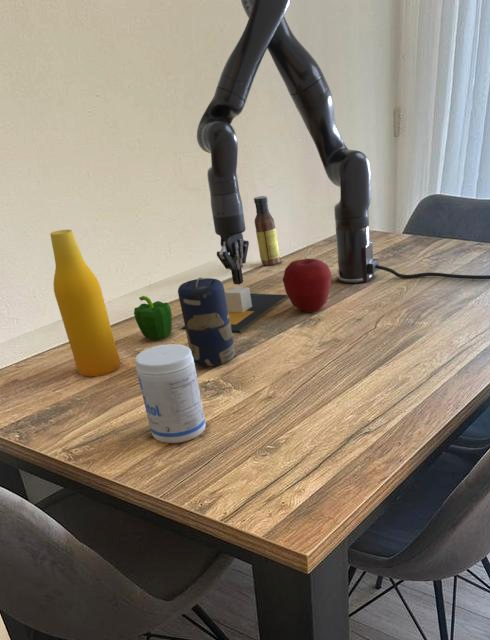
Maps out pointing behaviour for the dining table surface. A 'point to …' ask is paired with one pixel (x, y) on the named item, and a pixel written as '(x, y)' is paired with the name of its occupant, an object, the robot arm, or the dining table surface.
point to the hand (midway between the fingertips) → (238, 283)
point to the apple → (307, 284)
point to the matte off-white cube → (238, 299)
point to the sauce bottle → (266, 233)
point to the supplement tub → (171, 393)
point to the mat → (253, 310)
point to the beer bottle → (82, 309)
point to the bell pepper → (154, 319)
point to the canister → (207, 321)
